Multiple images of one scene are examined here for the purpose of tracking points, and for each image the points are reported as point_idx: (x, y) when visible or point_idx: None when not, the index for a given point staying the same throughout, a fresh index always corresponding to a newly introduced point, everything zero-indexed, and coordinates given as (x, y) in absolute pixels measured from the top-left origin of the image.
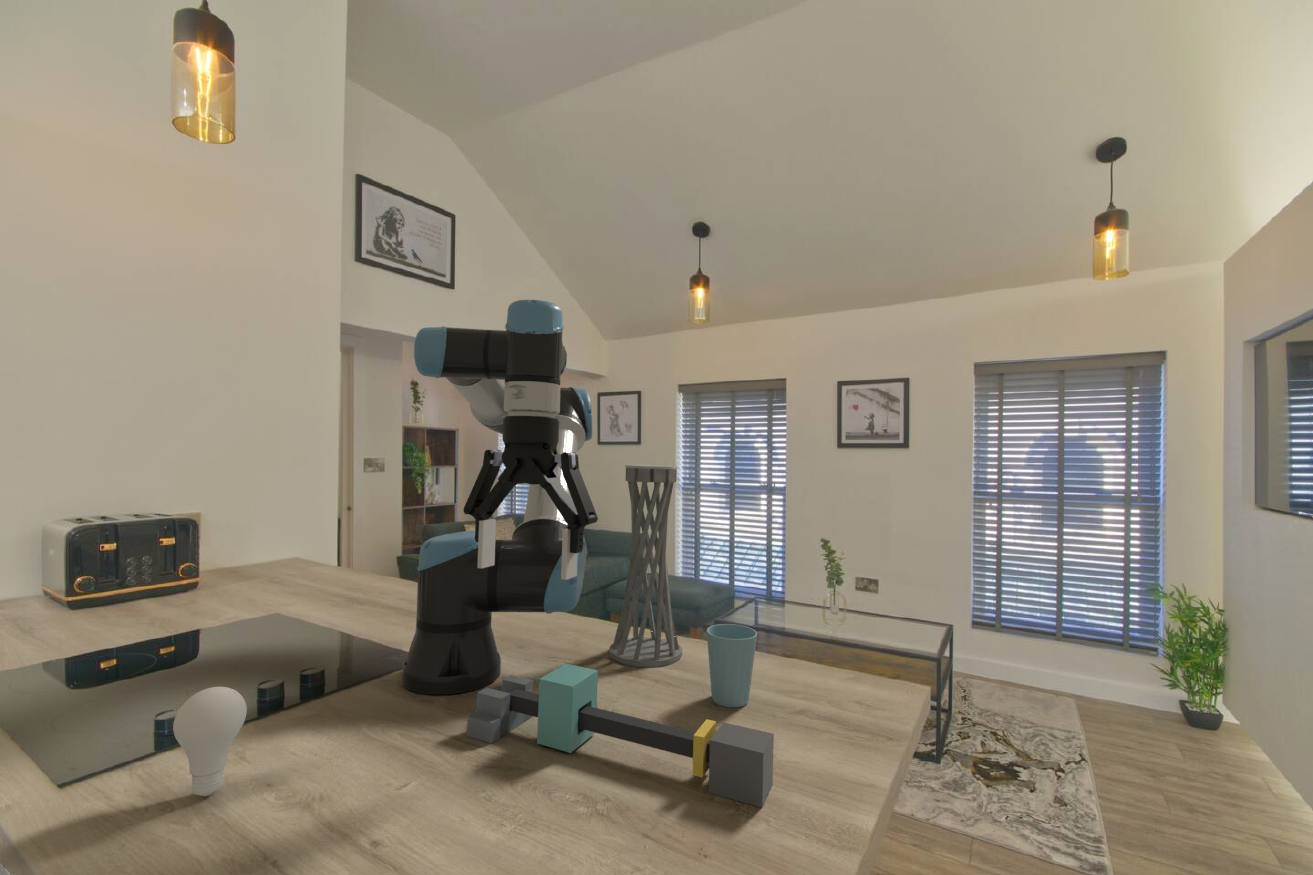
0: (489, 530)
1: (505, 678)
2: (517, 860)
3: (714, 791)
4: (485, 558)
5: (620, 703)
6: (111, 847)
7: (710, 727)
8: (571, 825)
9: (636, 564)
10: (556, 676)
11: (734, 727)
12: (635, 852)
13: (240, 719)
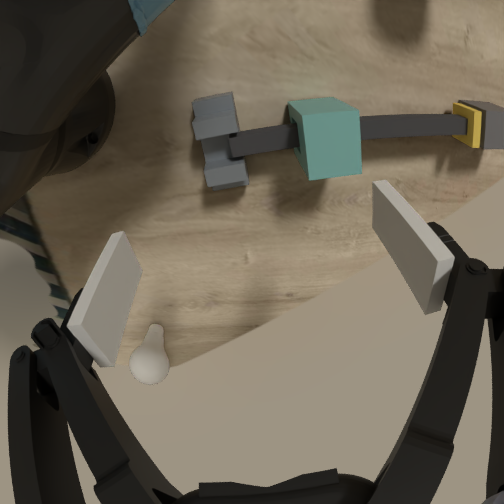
0: (107, 322)
1: (197, 135)
2: (375, 258)
3: None
4: (132, 275)
5: (304, 11)
6: (180, 354)
7: (480, 126)
8: None
9: None
10: (323, 161)
11: (494, 116)
12: (433, 216)
13: (162, 357)
